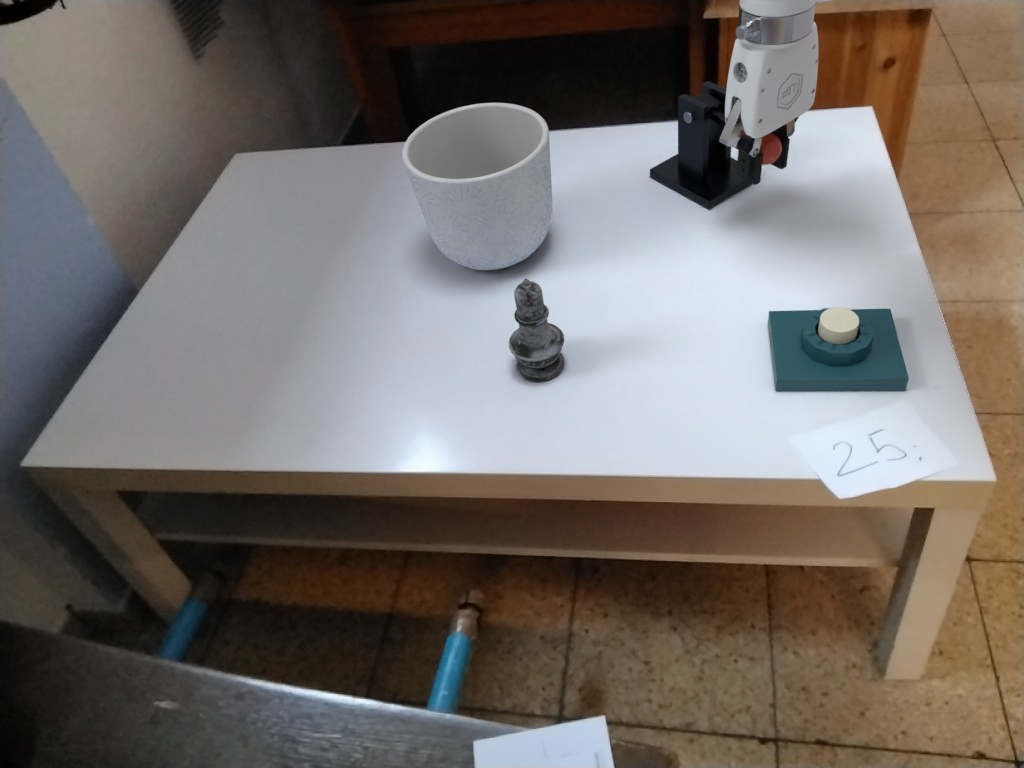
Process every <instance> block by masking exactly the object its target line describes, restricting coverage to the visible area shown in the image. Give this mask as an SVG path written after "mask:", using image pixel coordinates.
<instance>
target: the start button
mask: <svg viewBox="0 0 1024 768" xmlns="http://www.w3.org/2000/svg"><path fill="white" fill-rule="evenodd" d="M829 308H830V309H827V310H825V311H824V312H823V313H822V314H821V316H820V321H819V327H818V333H819V336H820V337H821V338H822V339H823V340H824V341H826V342H828V343H831V344H836V345H843V344H847V343H850V342H852V341H853V340H854V339H855V338H856V335H857V331H858V326H859V318H858V316H857V315H856V314H855V313H854V312H853V311H851V310H849V308H845V307H840V306H839V307H838V306H837V307H829Z"/></svg>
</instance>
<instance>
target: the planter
mask: <svg viewBox="0 0 1024 768" xmlns="http://www.w3.org/2000/svg"><path fill="white" fill-rule="evenodd" d="M550 147H551V146H550V130H549V126H548V123H547V121H546V120H545V119H544V118H543V117H542V116H541V115H540V114H539V113H538V112H536V111H535V110H533V109H532V108H528V107H525V106H523V105H519V104H515V103H507V102H484V103H483V102H482V103H474V104H469V105H464V106H459V107H456V108H453V109H450V110H447V111H444V112H442V113H440V114H437V115H436V116H434V117H432V118H430V119H428V120H427V121H425V122H423V123H422V124H421V125H419V126H418V127H417V128H415V130H413V132H412V133H410V135H409V136H408V138H407V139H406V141H405V142H404V145H403V147H402V151H401V158H402V162H403V164H404V167H405V170H406V173H407V176H408V179H409V182H410V184H411V187H412V189H413V192H414V194H415V198H416V200H417V203H418V206H419V209H420V212H421V215H422V217H423V220H424V223H425V225H426V228H427V230H428V233H429V236H430V238H431V239H432V241H433V243H434V244H435V246H436V247H437V248H438V250H439V251H440V252H441V253H442V254H443V255H444V256H446V258H448V260H450V261H451V262H454V263H456V264H457V265H460V266H462V267H465V268H467V269H470V270H477V271H495V270H501V269H505V268H509V267H512V266H514V265H516V264H519V263H521V262H523V261H524V260H526V259H527V258H529V257H530V256H531V255H532V254H533V253H534V252H535V251H537V249H538V248H539V247H540V246H541V245H542V243H543V242H544V240H545V238H546V236H547V234H548V232H549V229H550V226H551V222H552V217H553V216H552V215H553V188H552V187H553V186H552V185H553V184H552V167H551V148H550Z"/></svg>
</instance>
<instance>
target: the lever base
mask: <svg viewBox="0 0 1024 768" xmlns="http://www.w3.org/2000/svg"><path fill="white" fill-rule="evenodd" d="M726 89H727V88H725V87H723V86H720V85H718V84H715V83H713V82H711V81H709V80H707V81H705V82H704V83H702V84H701V93H703V92H704V91H706V92H708V93H709V94H711V95H712V96H714V97H715V98H717V99H718V100H720V101H721V107H720V111H722V112H723V113H725V99H726ZM709 109H710V105H708V104H706V103H703V102H701V101H699V100H697V99H694V98H693V97H691V96H690V95H688V94H685V93H683V94H681V95H679V96H677V153H676V154H675V155H673V156H671V157H669V158H668V159H666V160H664V161H661V162H660V163H659V164H657V165H655V166H654V167H651V168H650V169H649V178H651V179H653V180H655V181H656V182H657V183H660V184H661V185H664V186H665V187H667V188H669V189H671V190H673V191H674V192H677V193H678V194H680V195H682V196H683V197H685V198H687V199H689V200H691V201H693V202H695V203H697V204H698V205H700V206H702V207H703V208H706V209H707V210H711V209H713V208H714V207H716V206H718V205H719V204H721V203H723V202H725V201H726V200H727V199H729V198H731V197H733V196H734V195H736V194H738V193H739V192H741V191H743V190H744V189H746V188H748V187H750V186H752V185H753V184H752V183H750V182H748V181H746V180H744V179H742V178H740V177H739V176H738V175H737V164H738V159H735V158H733V157H732V147H728V146H726V145H724V144H722V143H720V142H719V139H720V136H721V134H722V131H723V129H724V128H723V127H721V126H720V125H719V124H717V123H716V122H714V121H712V122H710V123H709Z"/></svg>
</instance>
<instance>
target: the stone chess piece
mask: <svg viewBox="0 0 1024 768" xmlns="http://www.w3.org/2000/svg"><path fill="white" fill-rule="evenodd" d="M513 297H514V303H515V307H516V309H515V312H514V314H513V315H514V317H513V318H514V320H515V322H516V323H517V324H518V328H517V329H516V330H514V331H513V332H512V334H511V336H510V337H509V340H508V348H509V350H510V353H511V354H512V355H513V357H514V358H516V363H515V368H516V372H517V374H518V376H520V377H521V379H524V380H525V381H528V382H531V383H544V382H548V381H552V380H553V379H556V378H557V377H558V376H560V374H561V373H562V372H563V370H564V368H565V364H566V363H565V362H566V361H565V357H564V355H563V354H562V348H563V346H564V343H565V334H564V333H563V331H562V330H561V328H560V327H558V326H557V325H555V324H553V323H551V322H548V318H549V316H550V309H549V307H548V306H547V305H546V304H545V301H544V294H543V289H542V287H541V285H540V284H539V283H537V282H535V281H532V280H529V279H528V278H524V279H523V280H522V282H521V283H519V284H518V285H517V286H516V287H515V289H514V293H513Z"/></svg>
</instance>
